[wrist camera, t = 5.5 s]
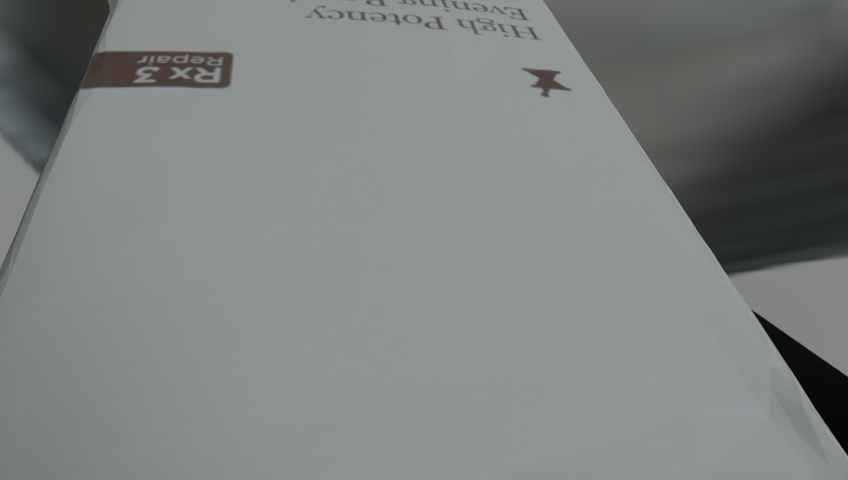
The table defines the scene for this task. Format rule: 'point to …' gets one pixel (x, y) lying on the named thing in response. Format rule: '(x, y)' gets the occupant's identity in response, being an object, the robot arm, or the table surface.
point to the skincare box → (373, 266)
